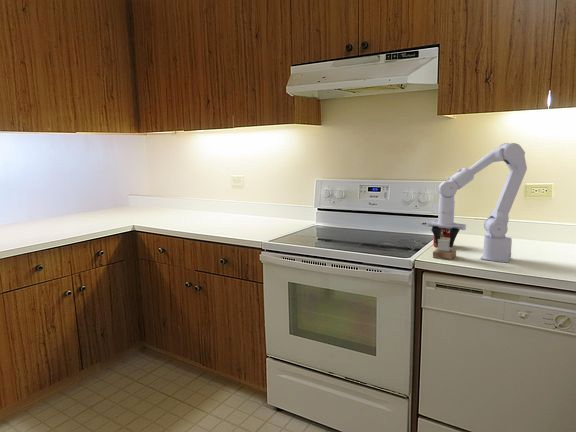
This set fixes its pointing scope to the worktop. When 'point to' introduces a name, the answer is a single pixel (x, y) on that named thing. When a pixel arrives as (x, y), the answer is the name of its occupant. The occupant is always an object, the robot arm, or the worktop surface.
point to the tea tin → (444, 244)
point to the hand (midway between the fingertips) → (444, 246)
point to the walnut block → (444, 254)
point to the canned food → (442, 234)
